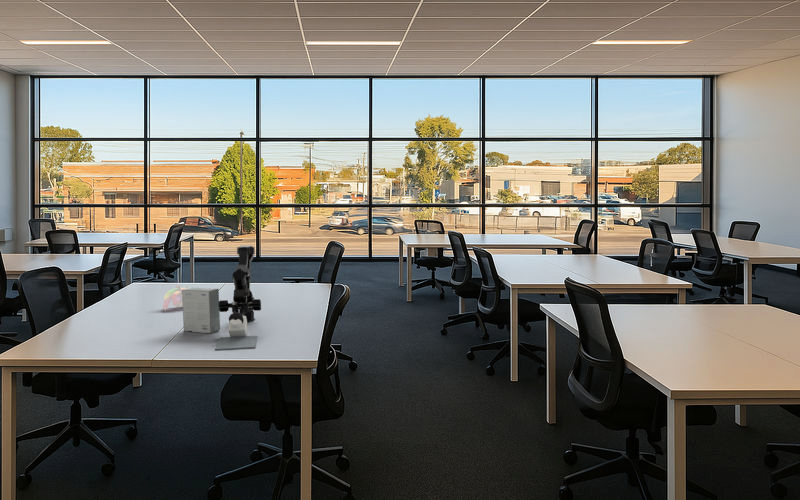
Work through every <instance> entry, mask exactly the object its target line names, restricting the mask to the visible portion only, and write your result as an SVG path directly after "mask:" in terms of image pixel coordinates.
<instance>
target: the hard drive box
mask: <svg viewBox="0 0 800 500" xmlns="http://www.w3.org/2000/svg"><path fill="white" fill-rule="evenodd" d="M219 293H220V291H219V288H216V287H215V288H208V287H188V289H184V290H182V300H183V306H182V315H183V317H182V318H183V332H188V331H192V332H191V333H202V334H213V333H216V332H217V331H221V317H220V316H221V315H220V313H221V312H220V311H219V305H218V304H219V301H220V296H219V295H220V294H219Z"/></svg>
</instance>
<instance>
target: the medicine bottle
mask: <svg viewBox="0 0 800 500" xmlns="http://www.w3.org/2000/svg"><path fill="white" fill-rule="evenodd" d="M227 329H228V334H229V337H242V336H248V335H247V334H248V322H247V319H246V316H242V314H241V313H238V312H235V313H233V312H232V313H230V315H229V317H228V328H227Z"/></svg>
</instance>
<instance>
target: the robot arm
mask: <svg viewBox="0 0 800 500" xmlns="http://www.w3.org/2000/svg"><path fill="white" fill-rule="evenodd" d="M236 250H237V251H236V255H238V265H237V267H236V268H235V270H234V272H232V274H231V278H232V281H233V285H234V290H233V297H232V299H233V301H231V303H229V301H228V300H227V299H226V300H220V299H219V304H218V305H219V313H226V312H227V313H228V311H229V309H231V312H232V313H235V312H238V313H241V314H242V316H246V319H247V323H249V322H252V321H255V320H256V318H255V312H254V311H257V312H259V311H261V310H262V300H261V299H259V298H256V299H255V297H254V295H253V293H252V291H251V279H252V274H251V263H252V261H253V259H254V255H255V254H256V249H255V246H253V245H251V244H250V245H239V246H238V247H236Z"/></svg>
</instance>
